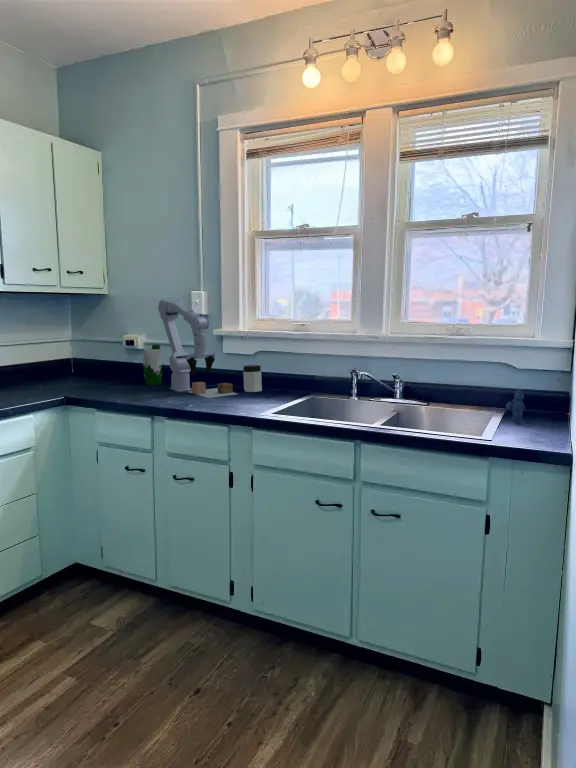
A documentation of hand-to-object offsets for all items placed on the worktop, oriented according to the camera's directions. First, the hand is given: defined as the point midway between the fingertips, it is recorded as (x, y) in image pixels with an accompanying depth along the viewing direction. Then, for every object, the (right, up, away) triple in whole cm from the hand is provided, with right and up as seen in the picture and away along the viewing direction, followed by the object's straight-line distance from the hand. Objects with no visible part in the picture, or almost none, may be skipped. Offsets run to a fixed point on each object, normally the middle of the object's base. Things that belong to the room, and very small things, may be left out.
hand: (201, 373), depth 246 cm
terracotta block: (-1, -9, +2) cm, 9 cm away
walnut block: (+10, -9, +4) cm, 14 cm away
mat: (+5, -9, +4) cm, 11 cm away
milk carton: (-30, -5, +32) cm, 44 cm away
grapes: (+120, -19, -54) cm, 133 cm away
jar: (+23, -8, +9) cm, 26 cm away
